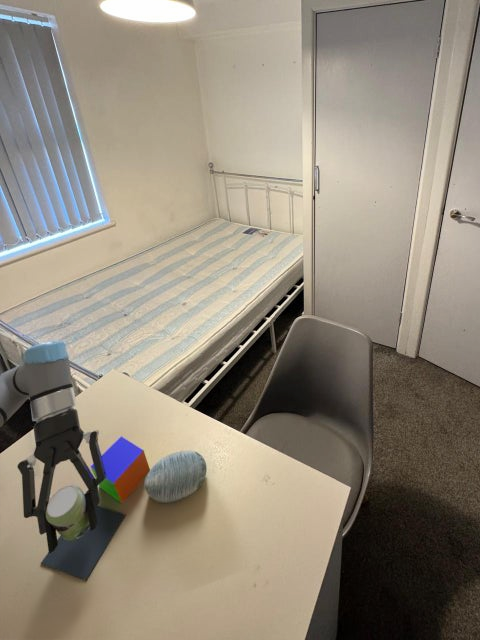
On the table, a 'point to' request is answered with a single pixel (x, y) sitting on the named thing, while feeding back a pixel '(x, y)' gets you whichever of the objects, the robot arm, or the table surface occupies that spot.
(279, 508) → the table surface
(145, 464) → the cube
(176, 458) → the grey yarn skein
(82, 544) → the pad
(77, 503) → the beverage can
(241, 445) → the table surface
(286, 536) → the table surface
